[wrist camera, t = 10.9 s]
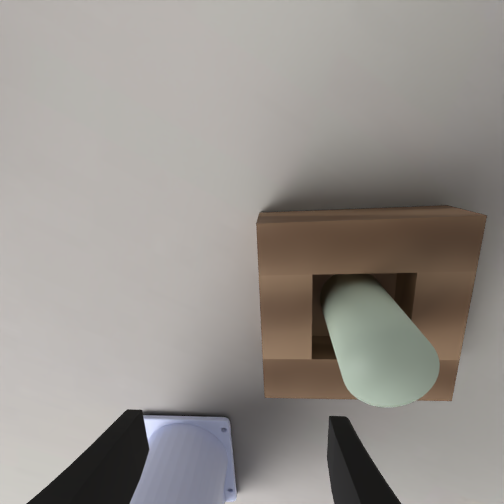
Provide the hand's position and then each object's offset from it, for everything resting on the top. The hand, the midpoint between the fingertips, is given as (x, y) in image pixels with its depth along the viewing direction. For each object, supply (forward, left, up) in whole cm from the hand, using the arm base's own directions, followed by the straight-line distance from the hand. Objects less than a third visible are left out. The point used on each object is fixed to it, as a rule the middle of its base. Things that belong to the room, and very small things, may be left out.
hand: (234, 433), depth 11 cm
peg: (+1, -7, -9) cm, 11 cm away
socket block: (+1, -7, -10) cm, 12 cm away
